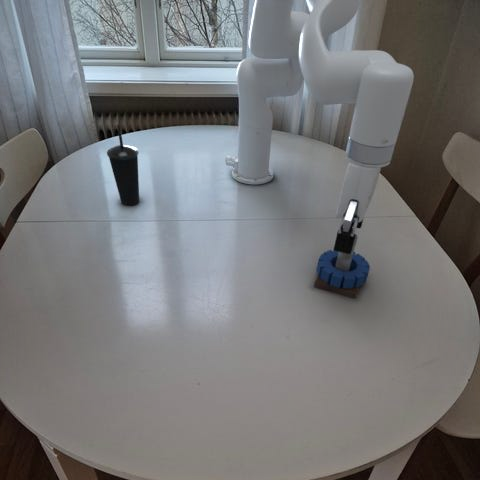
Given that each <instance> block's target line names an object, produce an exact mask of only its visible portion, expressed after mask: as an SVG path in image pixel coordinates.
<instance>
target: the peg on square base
mask: <svg viewBox="0 0 480 480" xmlns="http://www.w3.org/2000/svg"><path fill="white" fill-rule="evenodd" d="M358 238H359V236H358V235H357V234H356V236H355V240H354V244H353V248H352V251H351V253H350V254H346V253H342V252H339V253H338V257H337V261H336V265H335V266H333V267H334V268H336V269H337V270H341V271H353V270H352V269H350V265H351V261H352V257H353V253H354V252H355V249H356V246H357V241H358ZM320 277H321V276H318V275H317V276H316V278H315V281H314V285H313V288H316V289H320V290H322V291H326V292H330V293H334V294H338V295H341V296H344V297H349V298H351V299H356V297H357V294H358V291H359V289H360V286H359V287H356V288H355V287H354V286H353V288H349V289H343V288H342V285H341V286H340V288H338V287H335V286H331V285H330V282H329V283H326V282H324V281H323V280H322V279H321V278H320Z"/></svg>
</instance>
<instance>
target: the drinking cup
mask: <svg viewBox="0 0 480 480" xmlns="http://www.w3.org/2000/svg"><path fill="white" fill-rule="evenodd" d="M116 127H117V133H118V139H119V145H115V146H113V147H111V148H109V149H108V150H107V151H106V155H107V157H108V159H109V163H110V166H111V169H112V173H113V177H114V181H115V184H116V188H117V191H118V196H119V199H120V202H121V204H122V205H123V206H126V207H133V206H136V205H138V204H140V184H139V183H140V182H139V158H138V157H139V156H138V155H139V150H138V148H137V147H135V146H131V145H128V144H127V145H126V144H124V142H123V136H122V130H121V124H117V125H116Z"/></svg>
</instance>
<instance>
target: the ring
mask: <svg viewBox="0 0 480 480" xmlns="http://www.w3.org/2000/svg"><path fill="white" fill-rule="evenodd" d="M338 253H339V252H338V251H335V250H334V248H333V249H329V250H326V251H324V252H323V253H321V254H320V256H319V258H318V259H317V266H316V273H317V276H321V277H320V278H321V279H322V280H323V281H324V282H326V283H329V282H330V285H331V286H335V287H338V288H340V286H341V285H342V288H343V289H349V288H353V286H354V287H355V288H356V287H359V288H360V287H361V286H363V285H364V284H365V283H366V281H367V279H368V276H369V273H370V270H371V268H370V267H371V266H370V264H369V261H368V260H367V259H366V258H365V257H364V256H363V255H361V254H359V253H356V251H354V253H353V257H352V261H351V265H350V269H352V270H353V271H341V270H337V269H336V268H334V267H333V266H335V265H336V261H337V257H338Z"/></svg>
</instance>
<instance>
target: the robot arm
mask: <svg viewBox="0 0 480 480" xmlns="http://www.w3.org/2000/svg"><path fill="white" fill-rule="evenodd" d="M294 3H295V0H254V4H253V10H252V16H251V22H250V29H249V35H248V48H249V51H250V53H251V54H252V55H253V56H249V57H246V58H244V59H242V60H241V61H240V62H239V63H238V65H237V68H236V84H237V93H238V94H237V95H238V132H237V133H238V135H237V156H236V157H233V156H230V155H226V156H225V159H224V161H225V166H227V167H232V169H231V176H232V178H233V179H234V180H235V181H237V182H239V183H242V184H245V185H263V184H267V183H269V182H271V181H272V180H273V178H274V171H273V170H272V169H271V168H270V157H271V146H272V133H273V122H274V115H273V111H272V109H271V107H270V106H269V104H268V102H267V101H266V99H269V98H271V99H272V98H284V97H293V96H295V95H296V94H297V93H299V91H300V89H301V88H302V85H303V83H304V84H305V87H306V90H307V92H308V95H310V97H311V99H312V100H313V101H314V102H316V103H317V104H319V105H323V106H332V105H345V104H346V105H347V104H355V105H354V110H353V115H352V119H351V125H350V129H349V134H348V139H347V144H346V149H345V154H344V157H345V159H346V160H347V161H348V165H347V168H346V171H345V175H344V179H343V182H342V185H341V186H342V187H341V191H340V195H339V200H338V202H337V207H336V211H335V214H334V215H335V217H336V218H337V219H339V218H340V219H341V221H340V225H339V228H338V230H337V232H336V237H335V241H334V245H333V249H334V250H335V251H338V252H342V253H346V254H350V253H351V251H352V248H353V244H354V240H355V236H356V235H357V234H356V230H357V229H361V228H362V226H363V221H364V220H365V219H364V218H365V215H366V213H367V211H368V209H369V206H370V205H371V201H372V199H373V196H374V193H375V190H376V187H377V184H378V181H379V177H380V173H381V169H382V168H385V167H387V166H389V165H390V164H391V161H392V158H393V154H394V151H395V147H396V143H397V140H398V136H399V134H400V130H401V126H402V123H403V120H404V116H405V113H406V112H405V111H406V110H407V109H406V108H407V105H408V101H409V98H410V95H411V91H412V87H413V83H414V79H415V75H414V72H413V70H412V68H411V67H409V66H408V65H405V64H403V63H399V62H397V61H396V60H395V58H394V57H393V56H392V55H391V54H390V53H388V52H386V51H384V50H379V49H375V50H374V49H372V50H371V49H369V50H361V49H356V50H354V49H353V50H329V49H328V47H327V45H326V43H325V40H324V39H325V38H327V37H329V36H330V35H332V34H334V33H336V32H337V31H339V30H340V29H342V28H344V27H345V26H347V25H348V23H350V22H351V21H352V20H353V18H354V17H355V15H356V14H357V13H358V9H359V7H360V4H361V0H305V3H306V6H307V9H308V11H309V13H307V12H304V11H292V10H293V6H294Z"/></svg>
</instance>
